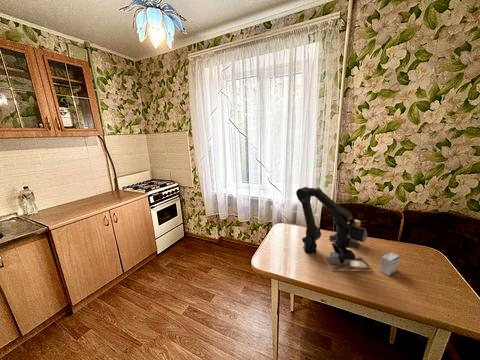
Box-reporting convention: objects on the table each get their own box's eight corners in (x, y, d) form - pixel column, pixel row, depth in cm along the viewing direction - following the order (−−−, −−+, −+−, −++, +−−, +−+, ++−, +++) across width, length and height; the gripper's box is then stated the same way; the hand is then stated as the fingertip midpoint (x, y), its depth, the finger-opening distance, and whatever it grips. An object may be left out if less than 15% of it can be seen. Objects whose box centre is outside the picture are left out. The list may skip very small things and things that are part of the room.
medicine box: (388, 276, 97) (391, 261, 95) (379, 271, 101) (381, 256, 99) (397, 270, 100) (400, 256, 98) (387, 265, 104) (390, 251, 102)
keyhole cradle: (331, 270, 103) (331, 267, 102) (325, 259, 111) (325, 256, 111) (371, 271, 101) (371, 268, 100) (362, 260, 110) (362, 257, 109)
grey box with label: (332, 264, 105) (333, 256, 103) (329, 260, 108) (330, 251, 107) (350, 265, 104) (351, 256, 103) (346, 260, 108) (347, 251, 106)
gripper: (368, 244, 92) (364, 273, 96) (350, 226, 110) (347, 250, 114) (344, 244, 93) (341, 272, 97) (329, 226, 111) (327, 250, 115)
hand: (339, 260), depth 106 cm, fingers closed on grey box with label, 4 cm apart
